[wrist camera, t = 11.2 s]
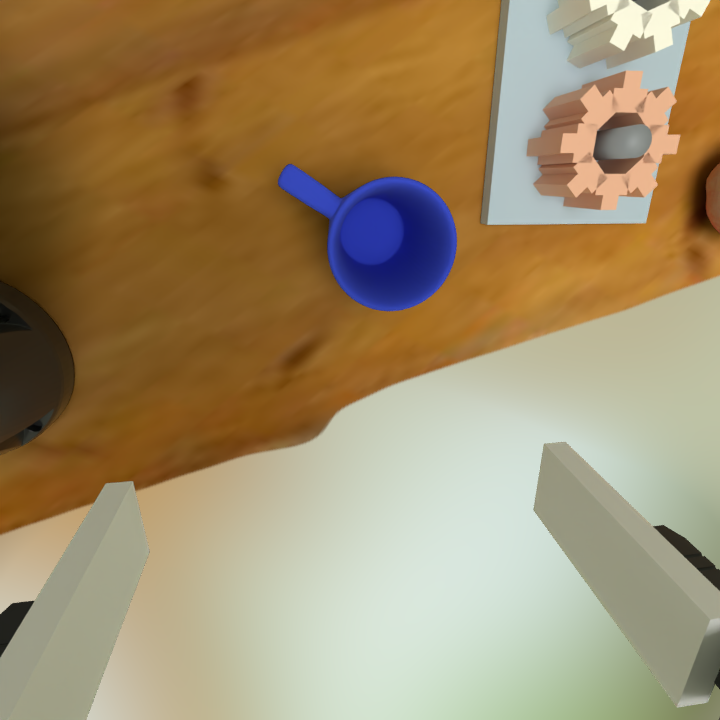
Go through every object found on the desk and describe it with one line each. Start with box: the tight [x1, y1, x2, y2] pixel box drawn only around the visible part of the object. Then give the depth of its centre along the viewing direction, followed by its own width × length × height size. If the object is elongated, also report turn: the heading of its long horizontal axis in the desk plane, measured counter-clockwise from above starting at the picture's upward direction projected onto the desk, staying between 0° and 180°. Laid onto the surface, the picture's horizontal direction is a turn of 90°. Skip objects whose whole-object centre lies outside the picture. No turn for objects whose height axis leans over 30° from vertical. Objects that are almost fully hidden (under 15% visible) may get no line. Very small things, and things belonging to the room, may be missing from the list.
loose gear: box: [526, 70, 680, 210], centre depth 34 cm, size 9×9×5 cm
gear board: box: [481, 0, 691, 225], centre depth 32 cm, size 14×21×8 cm, turn 0°
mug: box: [278, 164, 457, 311], centre depth 33 cm, size 8×12×10 cm
